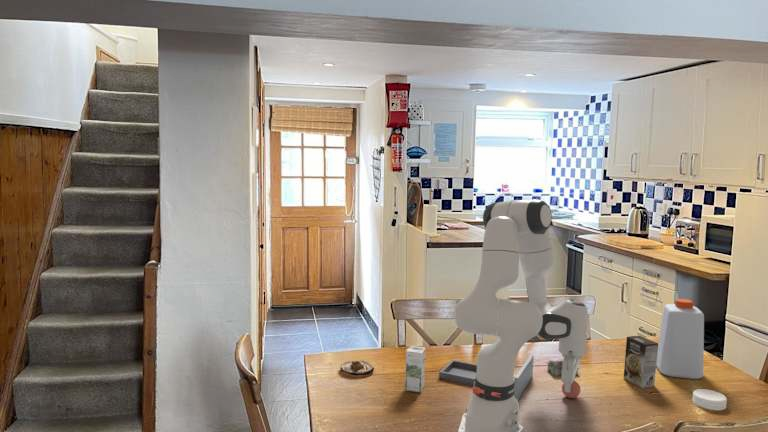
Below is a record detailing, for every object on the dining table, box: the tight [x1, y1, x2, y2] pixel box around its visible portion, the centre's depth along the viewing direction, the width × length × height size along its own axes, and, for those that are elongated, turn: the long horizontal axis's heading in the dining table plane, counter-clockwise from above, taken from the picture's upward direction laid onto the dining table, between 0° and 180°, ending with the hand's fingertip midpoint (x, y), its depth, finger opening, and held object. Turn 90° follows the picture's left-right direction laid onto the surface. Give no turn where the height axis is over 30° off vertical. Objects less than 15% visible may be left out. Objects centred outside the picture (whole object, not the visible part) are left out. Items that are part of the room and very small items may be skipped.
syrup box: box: [404, 345, 426, 394], centre depth 198 cm, size 6×6×14 cm
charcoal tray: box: [438, 359, 477, 387], centre depth 212 cm, size 14×14×2 cm
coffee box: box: [623, 335, 658, 389], centre depth 208 cm, size 9×6×16 cm
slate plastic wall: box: [514, 354, 534, 401], centre depth 202 cm, size 24×1×8 cm, turn 153°
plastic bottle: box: [656, 298, 705, 380], centre depth 219 cm, size 15×15×28 cm
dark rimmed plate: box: [340, 360, 375, 378], centre depth 213 cm, size 15×15×4 cm
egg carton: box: [546, 360, 581, 376], centre depth 218 cm, size 11×8×4 cm
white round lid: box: [692, 388, 728, 411], centre depth 192 cm, size 10×10×4 cm
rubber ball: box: [561, 380, 581, 399], centre depth 195 cm, size 6×6×6 cm
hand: (569, 386), depth 196 cm, fingers open, 8 cm apart
